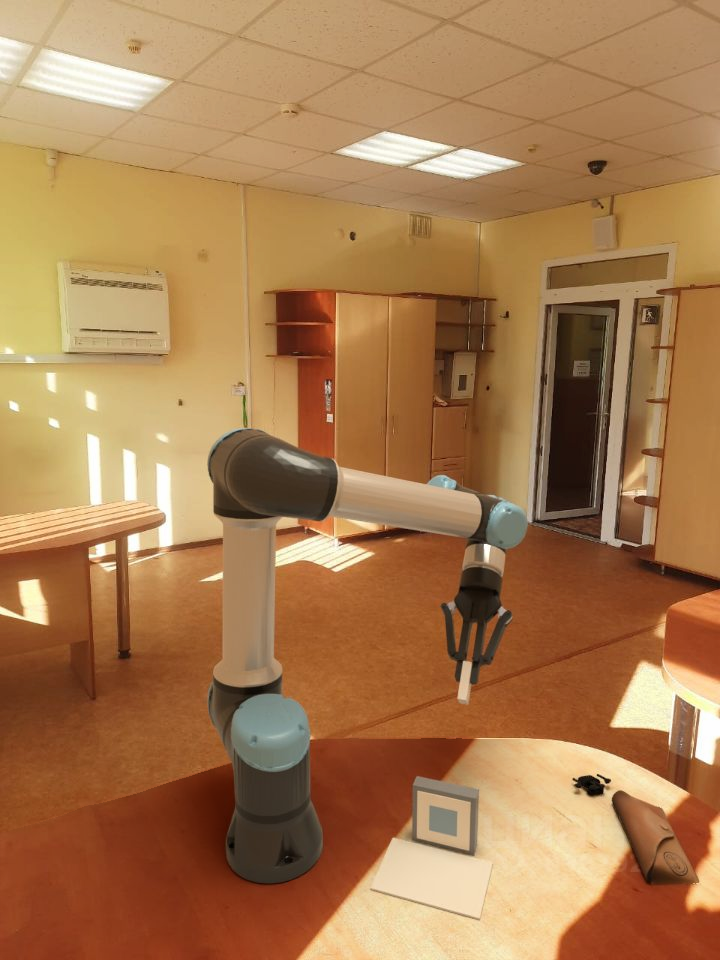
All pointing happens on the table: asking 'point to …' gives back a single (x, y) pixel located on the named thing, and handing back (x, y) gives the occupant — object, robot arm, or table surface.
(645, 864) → the sunglasses case
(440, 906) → the felt mat
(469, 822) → the slate tile
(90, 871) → the table surface
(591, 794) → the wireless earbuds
